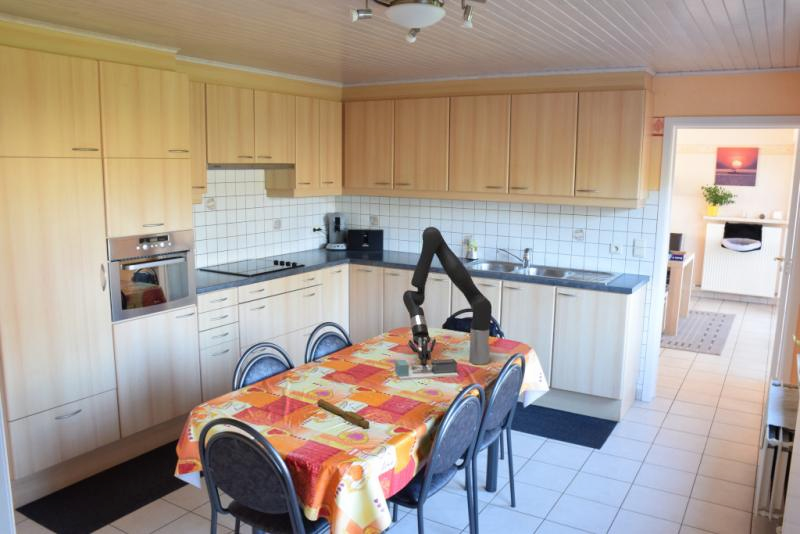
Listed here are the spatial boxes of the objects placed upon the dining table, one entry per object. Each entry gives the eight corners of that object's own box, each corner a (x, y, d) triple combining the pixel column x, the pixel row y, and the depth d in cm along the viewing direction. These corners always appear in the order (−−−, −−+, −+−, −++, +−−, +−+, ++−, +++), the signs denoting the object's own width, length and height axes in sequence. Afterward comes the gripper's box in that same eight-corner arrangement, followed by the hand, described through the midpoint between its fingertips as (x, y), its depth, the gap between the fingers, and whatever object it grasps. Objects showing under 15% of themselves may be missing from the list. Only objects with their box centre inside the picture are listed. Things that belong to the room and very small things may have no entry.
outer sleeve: (453, 369, 306) (453, 359, 305) (456, 372, 301) (457, 362, 300) (430, 370, 303) (431, 360, 303) (434, 373, 298) (434, 363, 298)
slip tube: (446, 368, 304) (447, 338, 302) (448, 371, 301) (449, 340, 298) (411, 370, 300) (412, 339, 298) (413, 373, 297) (414, 341, 294)
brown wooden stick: (322, 397, 261) (371, 420, 239) (322, 404, 261) (371, 428, 240) (316, 399, 259) (364, 422, 237) (316, 406, 259) (364, 430, 238)
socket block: (404, 370, 302) (404, 359, 301) (408, 376, 294) (408, 364, 293) (395, 371, 301) (395, 360, 300) (399, 376, 293) (399, 365, 292)
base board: (451, 369, 309) (451, 367, 309) (458, 376, 298) (458, 374, 298) (394, 372, 302) (394, 370, 302) (399, 380, 292) (399, 377, 292)
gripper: (406, 323, 302) (412, 356, 292) (435, 322, 305) (441, 355, 295) (403, 331, 308) (409, 364, 298) (431, 330, 311) (438, 362, 301)
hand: (425, 359), depth 297 cm, fingers closed on slip tube, 3 cm apart
